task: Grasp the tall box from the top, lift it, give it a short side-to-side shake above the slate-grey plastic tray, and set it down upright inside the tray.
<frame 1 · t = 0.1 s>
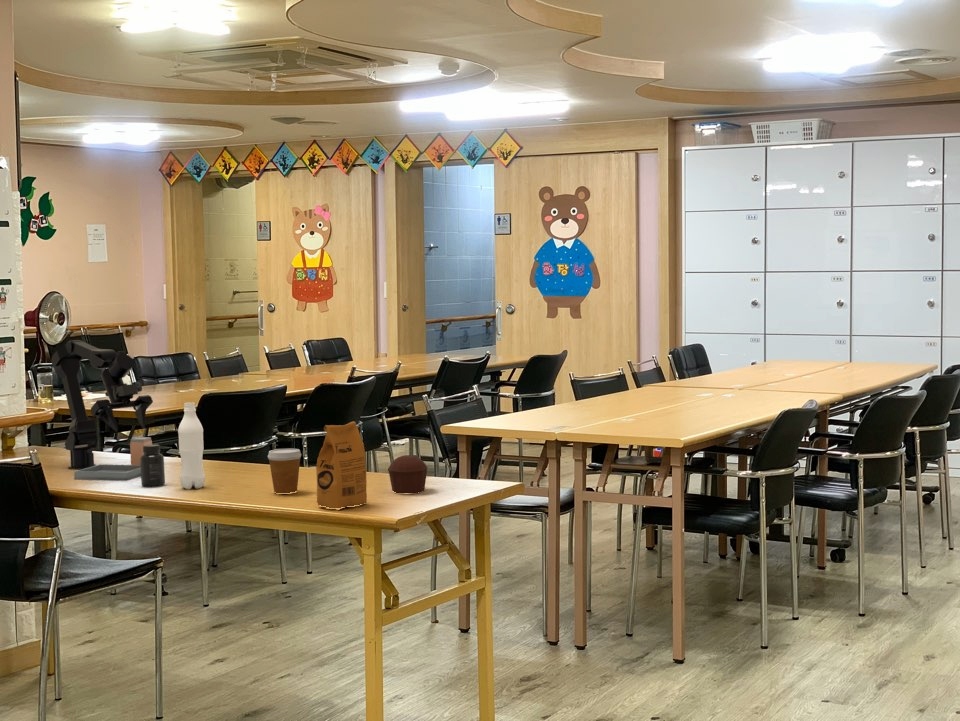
hand: (130, 429, 365), 15 cm above the table, tool tilted 35°, fingers open, 9 cm apart
disposable coffee cup: (285, 493, 333), on the table
tray: (112, 476, 369), on the table
water bottle: (192, 488, 345), on the table
tall box: (142, 469, 382), on the table
muffin: (408, 492, 332), on the table
supplement bottle: (153, 486, 350), on the table
coffee package: (342, 506, 312), on the table
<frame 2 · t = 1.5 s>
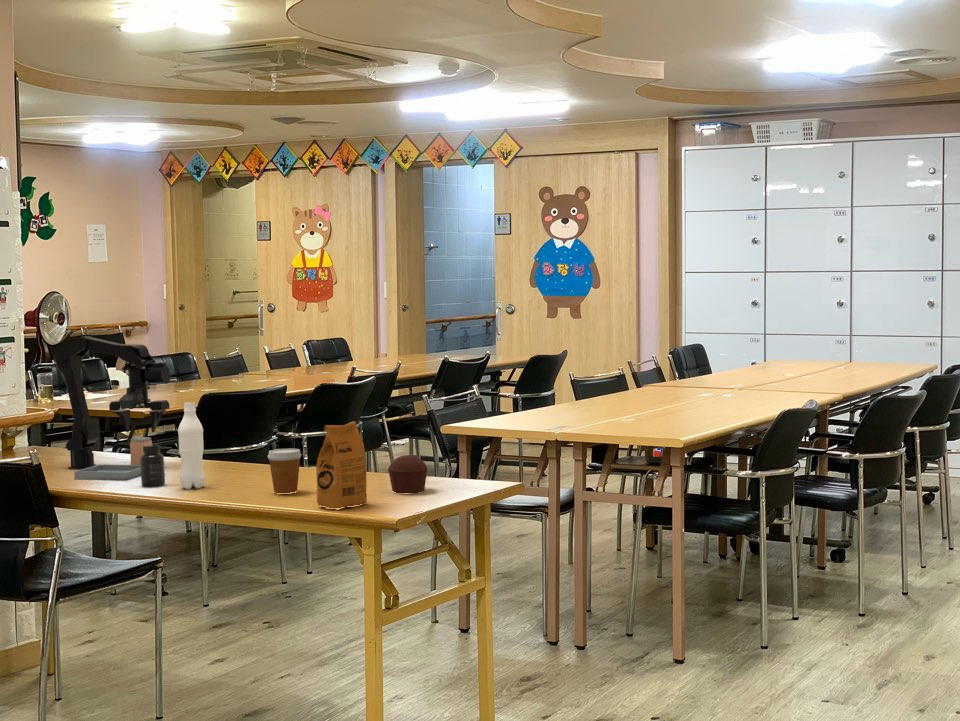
hand: (140, 432, 381), 12 cm above the table, tool pointing down, fingers open, 9 cm apart
nothing on the table moved.
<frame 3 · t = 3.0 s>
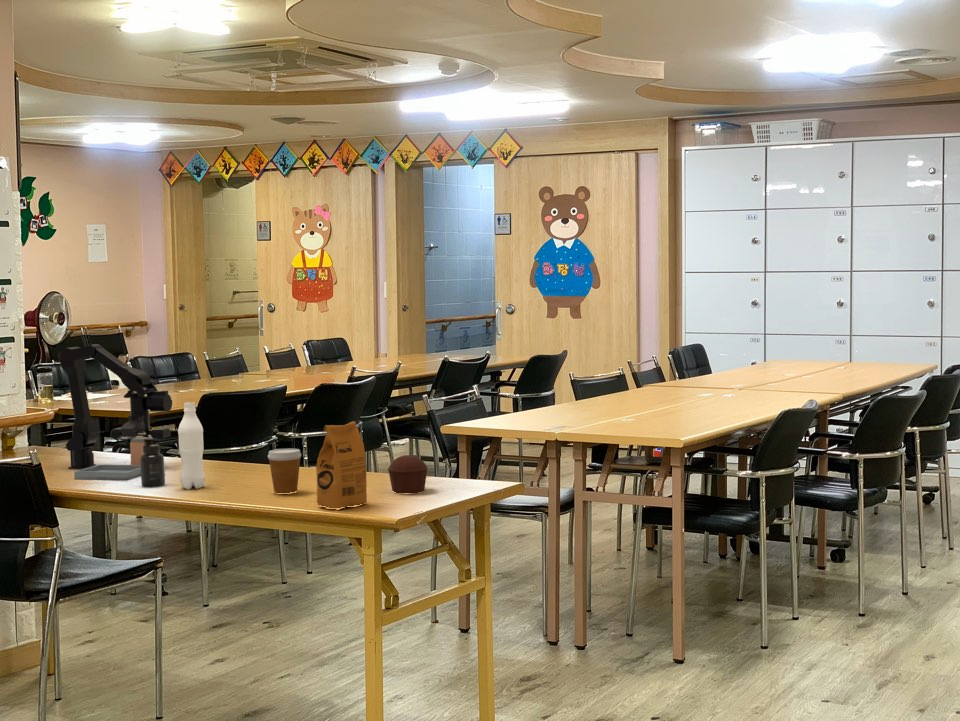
hand: (141, 459, 382), 3 cm above the table, tool pointing down, fingers closed on tall box, 5 cm apart
tall box: (142, 468, 382), on the table, touching gripper
everything else where it was.
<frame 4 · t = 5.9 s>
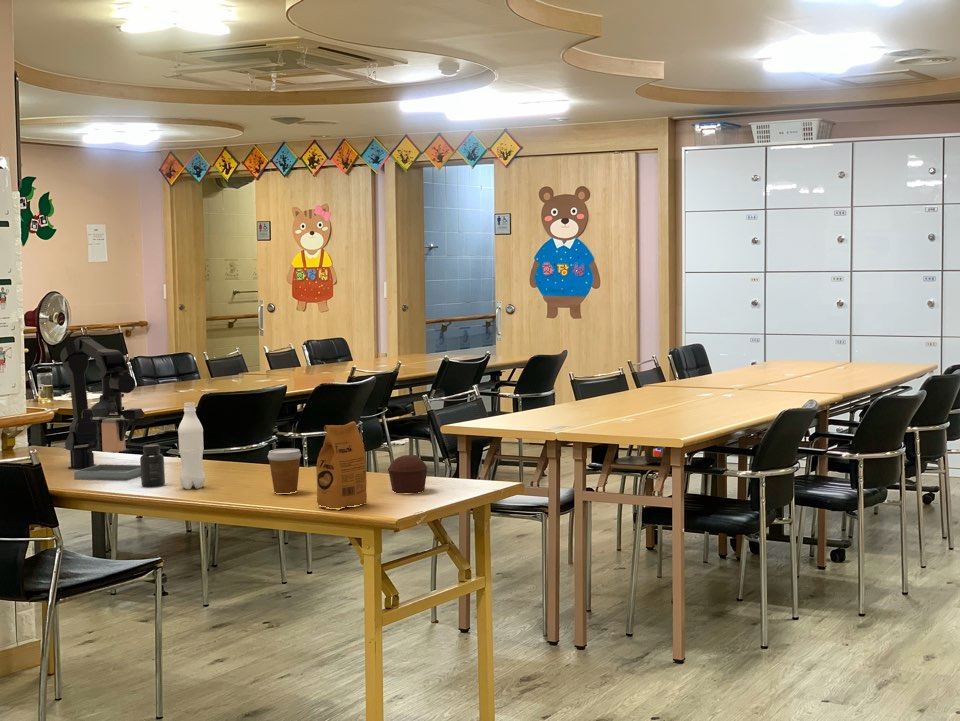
hand: (113, 440, 370), 11 cm above the table, tool pointing down, fingers closed on tall box, 5 cm apart
tall box: (114, 450, 370), point 8 cm above the table, touching gripper
everything else where it was.
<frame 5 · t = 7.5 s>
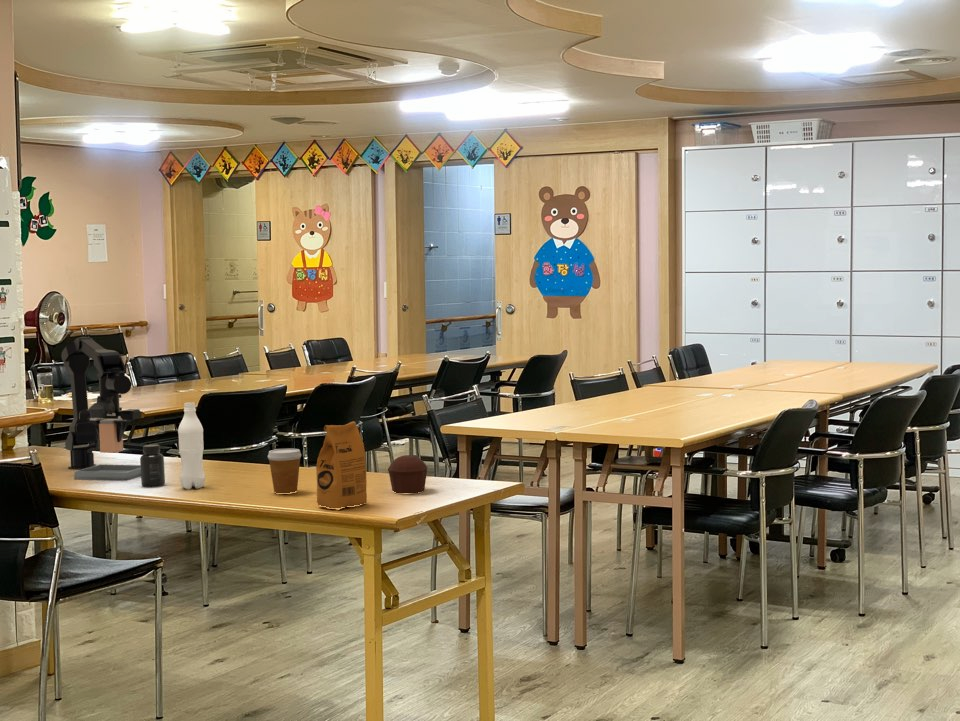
hand: (111, 441, 369), 11 cm above the table, tool pointing down, fingers closed on tall box, 5 cm apart
tall box: (111, 451, 369), point 8 cm above the table, touching gripper
everything else where it was.
when the fingers open (5 cm above the table, at t = 8.9 s): tall box stays where it is, resting on tray.
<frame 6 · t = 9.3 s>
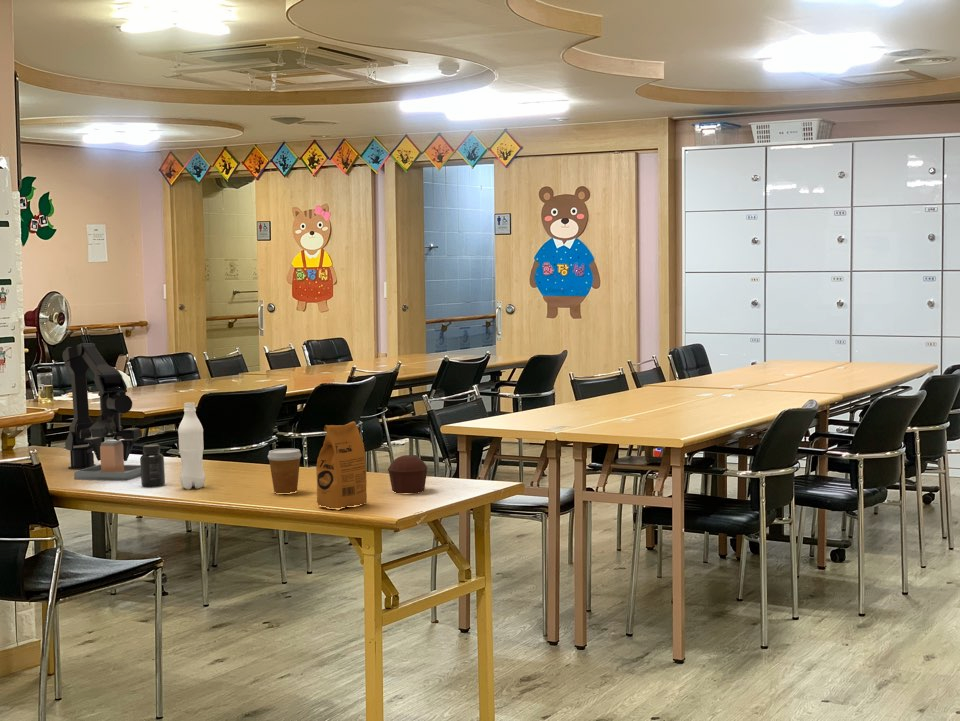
hand: (112, 460, 369), 5 cm above the table, tool pointing down, fingers open, 9 cm apart
tall box: (112, 473, 369), point 1 cm above the table, touching tray
everything else where it was.
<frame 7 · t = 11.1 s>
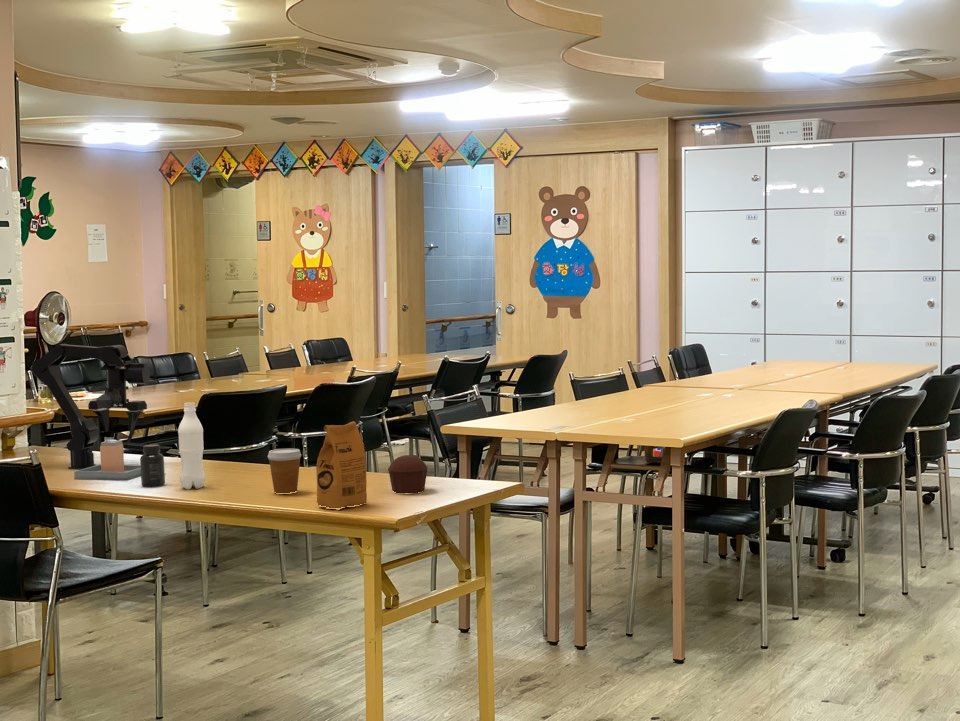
hand: (118, 431, 385), 12 cm above the table, tool pointing down, fingers open, 9 cm apart
nothing on the table moved.
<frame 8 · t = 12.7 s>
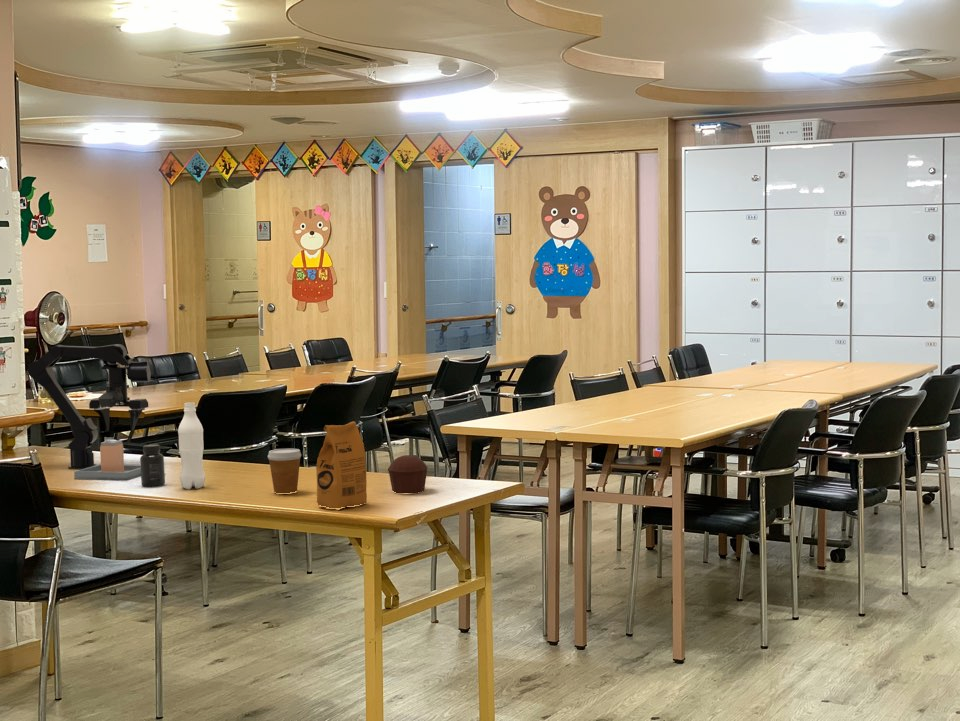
hand: (119, 430, 388), 12 cm above the table, tool pointing down, fingers open, 9 cm apart
nothing on the table moved.
at the end: tall box inside the target area on the tray (0.0 cm from its centre), point 0.8 cm above the tray's base; tall box tilted 0°; the gripper is holding nothing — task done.
